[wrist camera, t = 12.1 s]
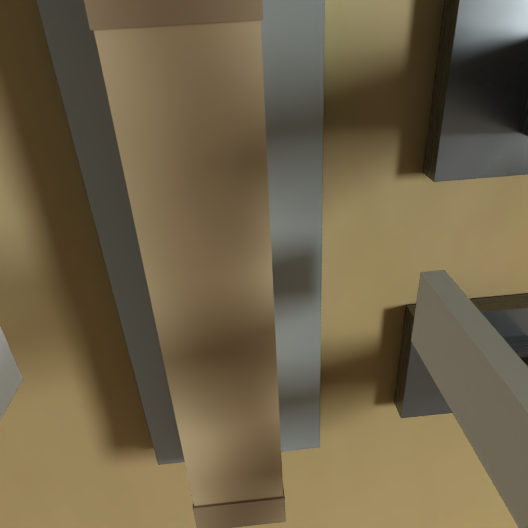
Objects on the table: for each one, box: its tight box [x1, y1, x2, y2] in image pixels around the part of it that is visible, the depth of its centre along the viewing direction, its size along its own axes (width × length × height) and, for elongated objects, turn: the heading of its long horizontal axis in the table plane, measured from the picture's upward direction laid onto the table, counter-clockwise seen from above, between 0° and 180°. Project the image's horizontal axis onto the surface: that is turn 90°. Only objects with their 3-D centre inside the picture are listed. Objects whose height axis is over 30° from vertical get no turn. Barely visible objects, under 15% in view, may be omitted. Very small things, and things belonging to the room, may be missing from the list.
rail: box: [84, 0, 286, 528], centre depth 15 cm, size 4×20×4 cm, turn 3°
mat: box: [36, 0, 325, 465], centre depth 17 cm, size 21×8×1 cm, turn 3°
